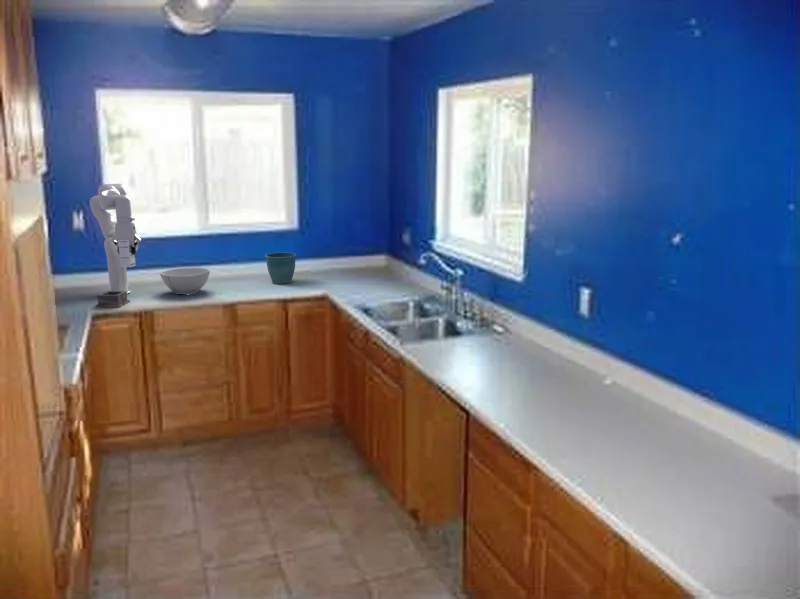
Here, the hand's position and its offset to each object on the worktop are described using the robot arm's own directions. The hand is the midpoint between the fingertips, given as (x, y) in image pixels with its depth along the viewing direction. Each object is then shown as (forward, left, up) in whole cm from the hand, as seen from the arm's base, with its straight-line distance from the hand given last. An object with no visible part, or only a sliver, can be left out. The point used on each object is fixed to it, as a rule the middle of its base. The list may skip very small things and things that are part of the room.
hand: (127, 253), depth 379 cm
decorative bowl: (-23, +22, -26) cm, 41 cm away
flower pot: (-55, +69, -26) cm, 92 cm away
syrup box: (0, 0, -7) cm, 7 cm away
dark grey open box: (+8, -6, -26) cm, 28 cm away
